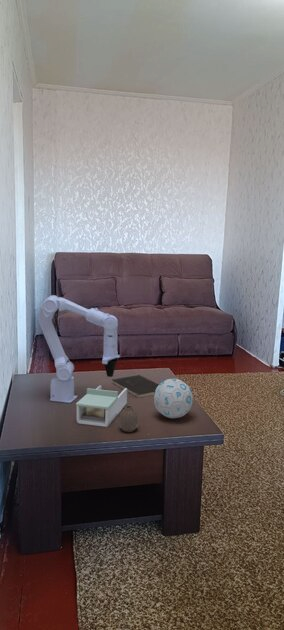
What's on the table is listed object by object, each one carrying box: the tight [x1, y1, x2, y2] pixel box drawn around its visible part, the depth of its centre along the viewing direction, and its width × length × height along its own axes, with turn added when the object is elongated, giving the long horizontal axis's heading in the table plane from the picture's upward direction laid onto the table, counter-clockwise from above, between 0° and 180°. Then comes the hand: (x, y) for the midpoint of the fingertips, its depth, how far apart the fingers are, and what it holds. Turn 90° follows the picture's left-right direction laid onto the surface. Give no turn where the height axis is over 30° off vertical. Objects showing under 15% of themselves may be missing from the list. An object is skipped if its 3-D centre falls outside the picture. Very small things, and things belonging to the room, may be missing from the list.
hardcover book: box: [111, 374, 160, 398], centre depth 215 cm, size 16×23×2 cm
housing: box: [76, 384, 128, 428], centre depth 183 cm, size 12×26×6 cm, turn 166°
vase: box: [118, 405, 139, 433], centre depth 167 cm, size 7×7×9 cm
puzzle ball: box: [153, 378, 194, 419], centre depth 180 cm, size 15×15×15 cm
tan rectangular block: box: [86, 407, 106, 418], centre depth 177 cm, size 7×4×5 cm, turn 76°
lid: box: [75, 387, 119, 409], centre depth 176 cm, size 12×12×3 cm
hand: (110, 376), depth 196 cm, fingers closed
